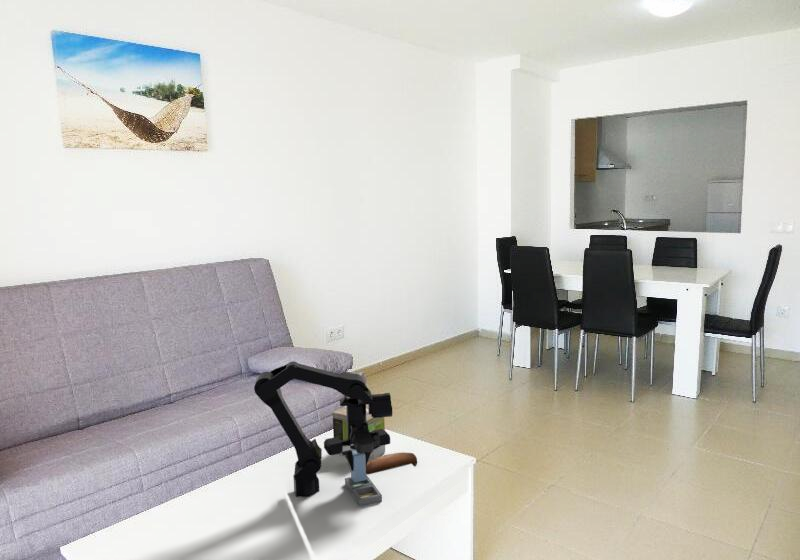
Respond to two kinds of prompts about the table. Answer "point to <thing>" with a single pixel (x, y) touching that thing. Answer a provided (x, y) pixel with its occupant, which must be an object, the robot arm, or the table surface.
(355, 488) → the panel
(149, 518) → the table surface
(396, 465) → the sunglasses case
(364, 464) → the plug
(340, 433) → the tea box
